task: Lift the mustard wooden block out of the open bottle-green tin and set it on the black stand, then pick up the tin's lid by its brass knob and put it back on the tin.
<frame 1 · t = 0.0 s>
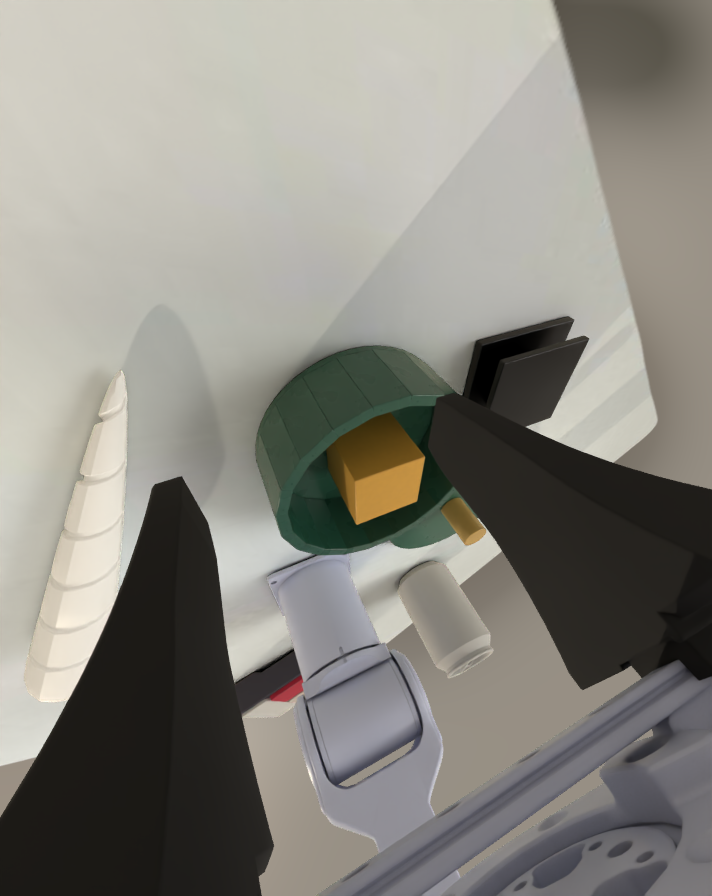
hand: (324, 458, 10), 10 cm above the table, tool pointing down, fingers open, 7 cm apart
calculator: (295, 660, 53), on the table
can: (417, 572, 49), on the table
unicorn horn: (82, 541, 22), on the table
tin lid: (448, 501, 37), point 1 cm above the table
block: (355, 439, 25), resting on tin
stand: (507, 376, 28), on the table
tin: (352, 434, 25), on the table
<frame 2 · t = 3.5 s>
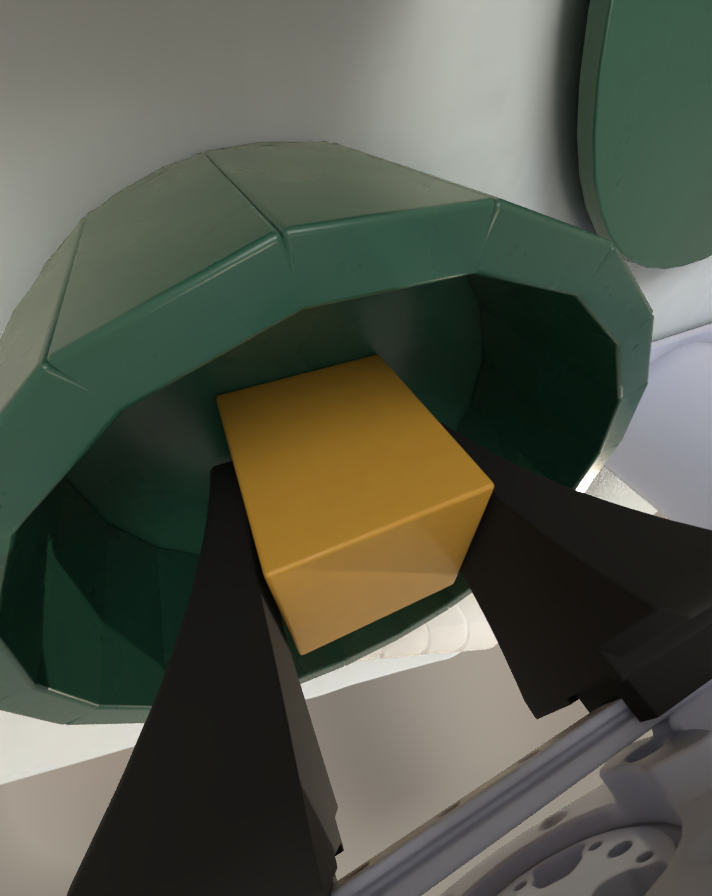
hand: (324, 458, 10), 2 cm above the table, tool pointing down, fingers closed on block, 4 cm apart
unicorn horn: (363, 606, 25), on the table
block: (310, 433, 11), point 1 cm above the table, touching gripper, tin
tin: (305, 423, 11), on the table
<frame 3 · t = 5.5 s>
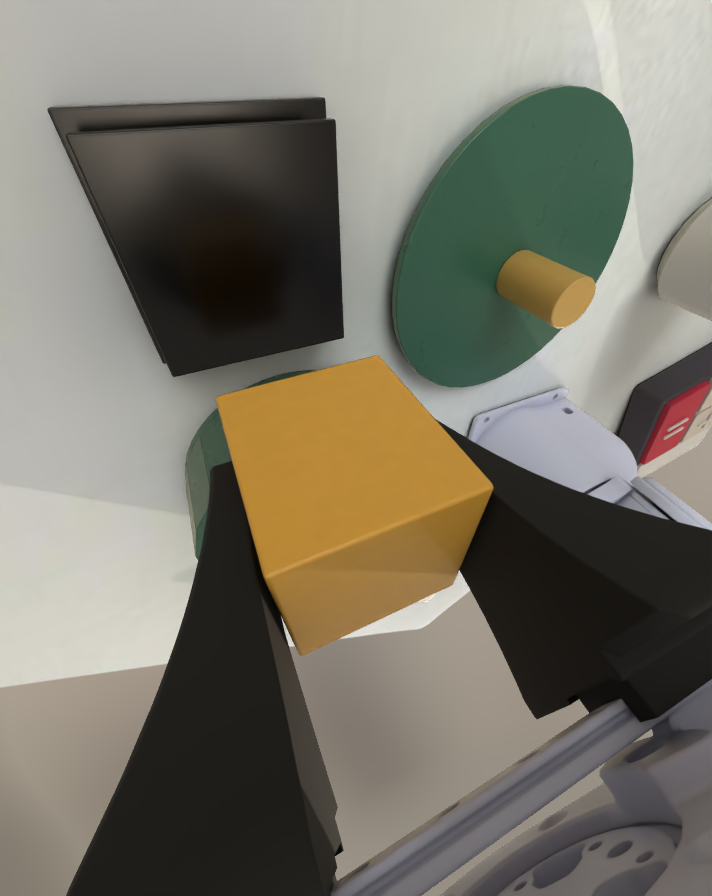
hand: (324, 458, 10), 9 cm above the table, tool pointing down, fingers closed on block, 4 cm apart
calculator: (653, 407, 42), on the table
can: (691, 242, 25), on the table
tin lid: (508, 270, 20), point 1 cm above the table
block: (310, 434, 11), point 8 cm above the table, touching gripper
stand: (230, 243, 14), on the table
tin: (298, 460, 24), on the table
when the fingers open (4 cm above the table, at t = 7.6 s): block stays where it is, resting on stand.
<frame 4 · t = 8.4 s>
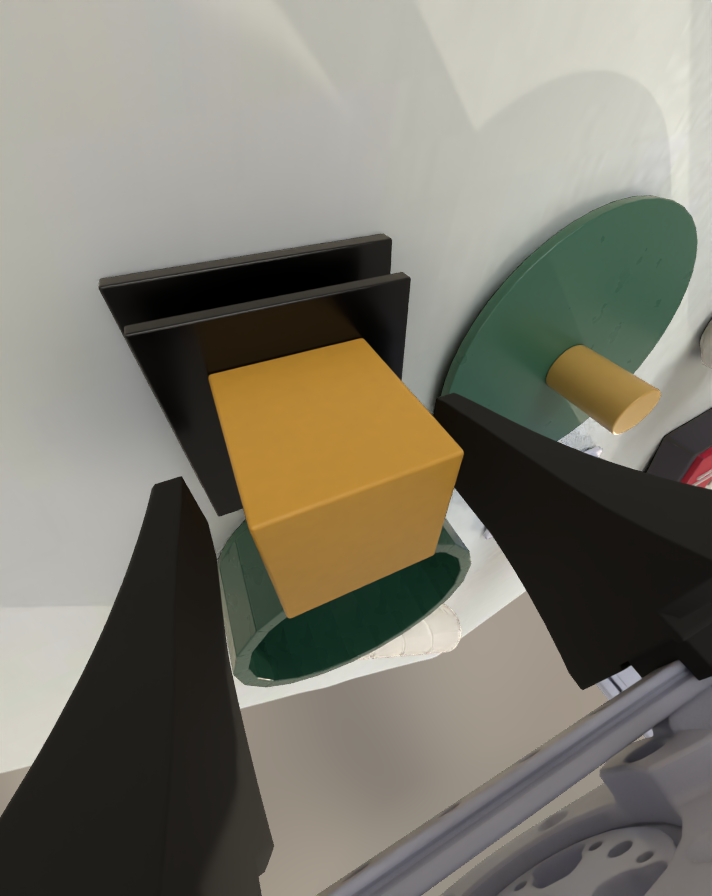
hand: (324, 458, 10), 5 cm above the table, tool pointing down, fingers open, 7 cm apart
calculator: (679, 449, 41), on the table
unicorn horn: (360, 623, 36), on the table
tin lid: (558, 361, 19), point 1 cm above the table
block: (299, 414, 11), point 2 cm above the table, touching stand
stand: (279, 372, 13), on the table
tin: (330, 543, 23), on the table
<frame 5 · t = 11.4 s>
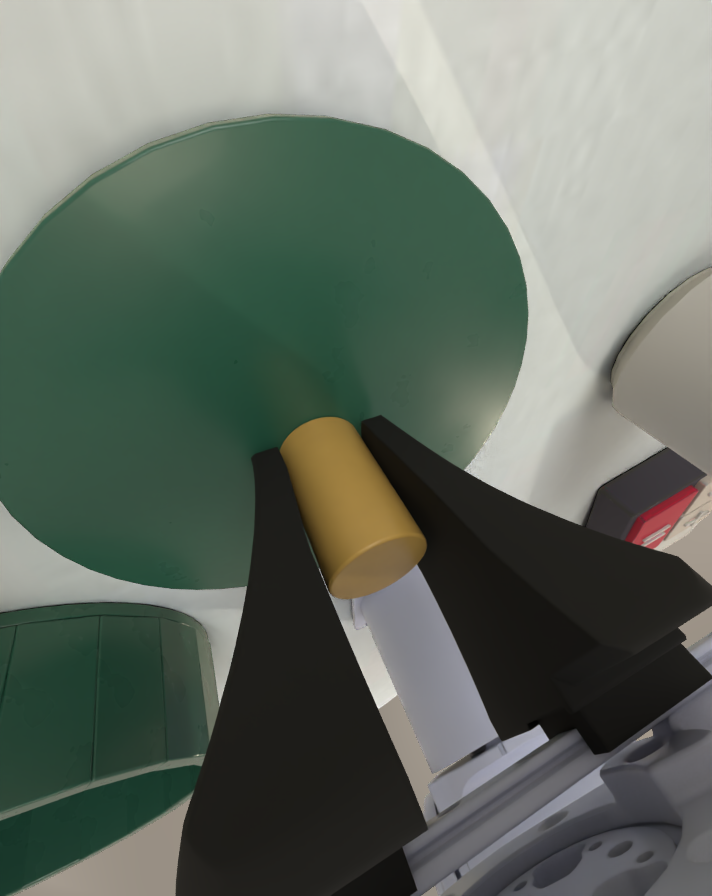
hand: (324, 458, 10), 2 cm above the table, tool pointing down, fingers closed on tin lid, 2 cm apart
calculator: (629, 495, 34), on the table
can: (663, 333, 17), on the table
tin lid: (313, 437, 11), point 1 cm above the table, touching gripper
tin: (33, 694, 15), on the table
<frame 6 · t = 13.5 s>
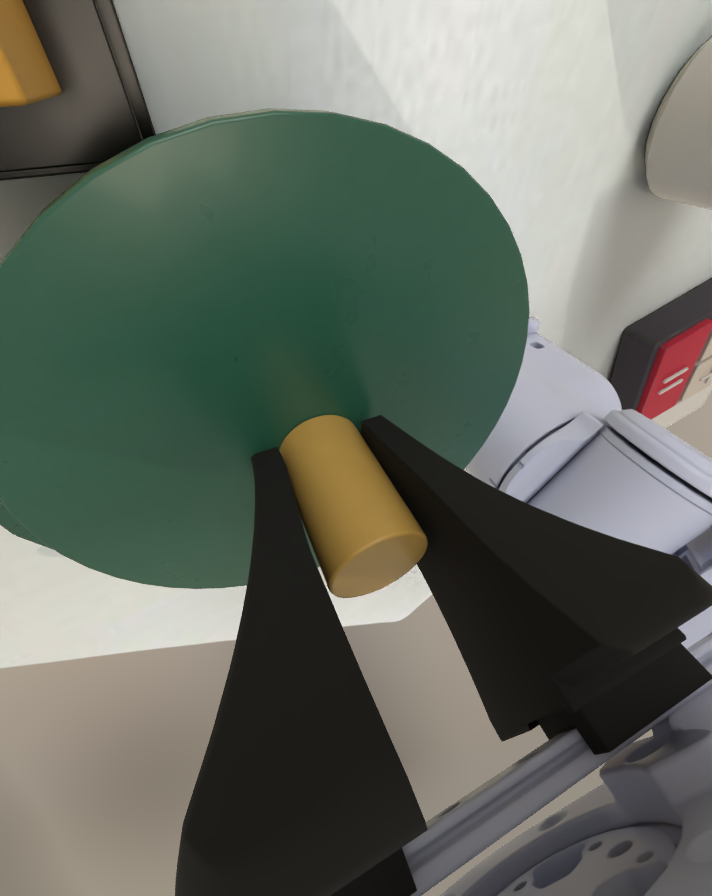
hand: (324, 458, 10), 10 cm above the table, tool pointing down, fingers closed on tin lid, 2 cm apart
calculator: (648, 361, 37), on the table
can: (690, 110, 20), on the table
tin lid: (313, 436, 11), point 10 cm above the table, touching gripper
tin: (174, 393, 18), on the table
when the fingers open (6 cm above the table, at t = 15.6 s): tin lid stays where it is, resting on tin.
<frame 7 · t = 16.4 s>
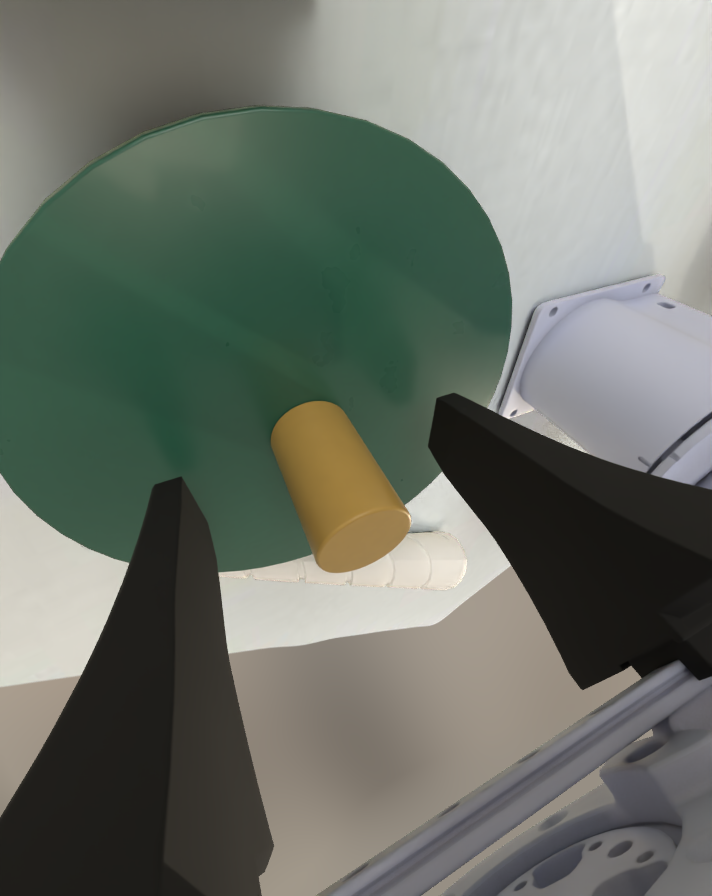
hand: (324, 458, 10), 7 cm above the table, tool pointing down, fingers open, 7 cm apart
unicorn horn: (336, 543, 28), on the table
tin lid: (304, 422, 11), point 5 cm above the table, touching tin
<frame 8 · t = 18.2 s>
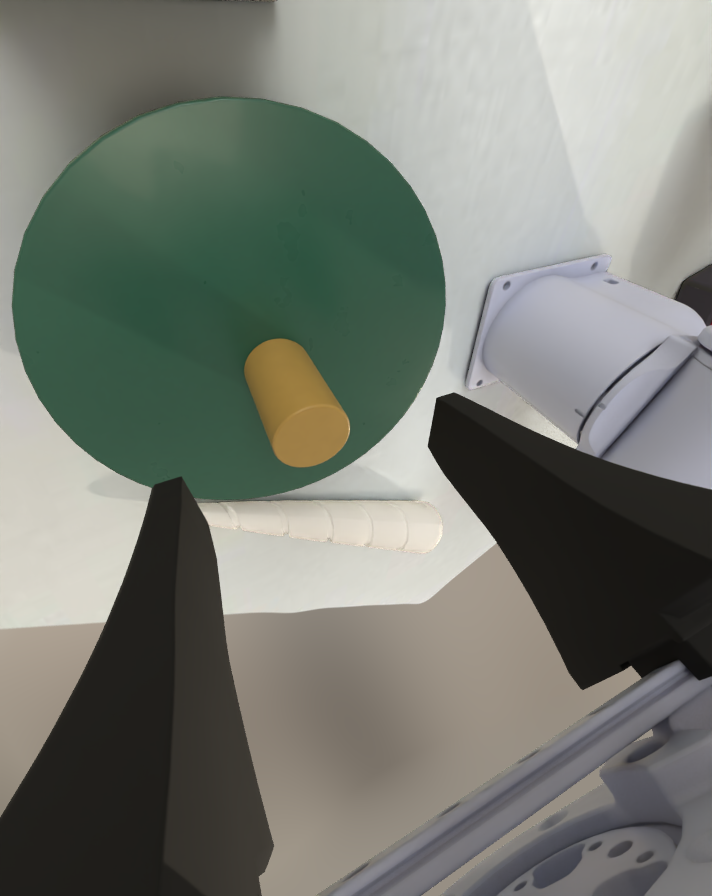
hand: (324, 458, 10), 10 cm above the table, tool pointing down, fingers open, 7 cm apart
calculator: (697, 322, 35), on the table
unicorn horn: (320, 506, 30), on the table
tin lid: (273, 361, 14), point 5 cm above the table, touching tin
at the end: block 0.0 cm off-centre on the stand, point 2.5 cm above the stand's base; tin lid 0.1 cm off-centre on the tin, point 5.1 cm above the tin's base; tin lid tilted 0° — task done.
